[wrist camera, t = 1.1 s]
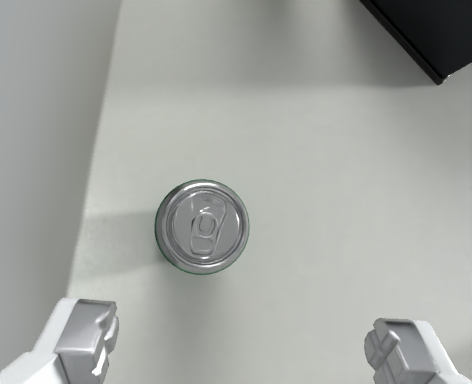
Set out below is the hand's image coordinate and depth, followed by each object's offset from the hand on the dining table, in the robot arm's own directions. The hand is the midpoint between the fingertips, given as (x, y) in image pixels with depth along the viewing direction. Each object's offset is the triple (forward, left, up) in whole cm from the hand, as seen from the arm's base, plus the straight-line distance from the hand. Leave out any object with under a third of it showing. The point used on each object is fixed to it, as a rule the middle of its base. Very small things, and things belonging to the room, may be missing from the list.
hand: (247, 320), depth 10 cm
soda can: (-3, +2, -18) cm, 18 cm away
